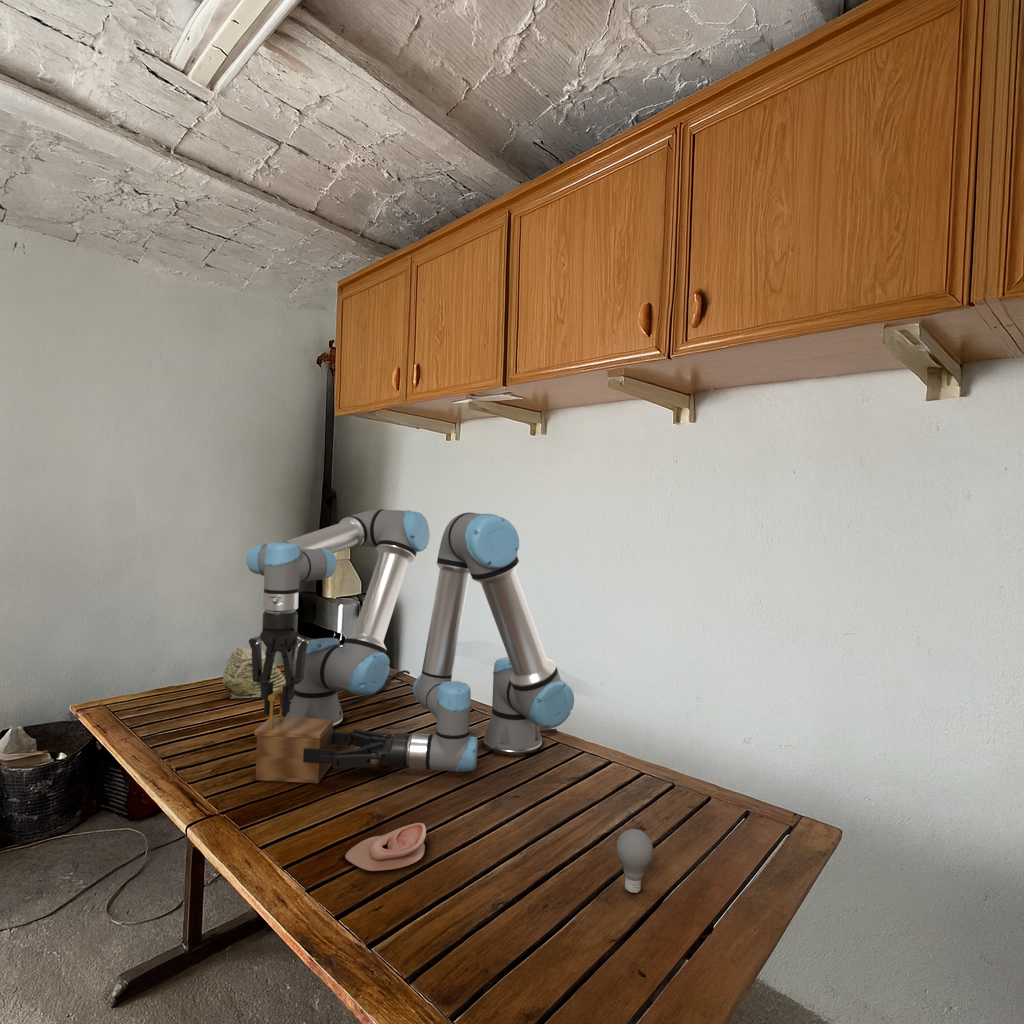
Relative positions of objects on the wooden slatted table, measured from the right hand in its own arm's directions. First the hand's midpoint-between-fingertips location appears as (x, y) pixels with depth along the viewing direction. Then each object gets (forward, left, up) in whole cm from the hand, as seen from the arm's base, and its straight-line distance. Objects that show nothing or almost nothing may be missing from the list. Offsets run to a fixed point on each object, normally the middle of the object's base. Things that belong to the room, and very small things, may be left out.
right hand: (311, 745), depth 144 cm
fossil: (+10, -63, -6) cm, 64 cm away
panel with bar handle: (+4, -2, +4) cm, 5 cm away
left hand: (+8, -3, +7) cm, 11 cm away
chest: (+3, -2, -6) cm, 7 cm away
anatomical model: (-9, +38, -6) cm, 40 cm away
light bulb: (-45, +62, -6) cm, 77 cm away
